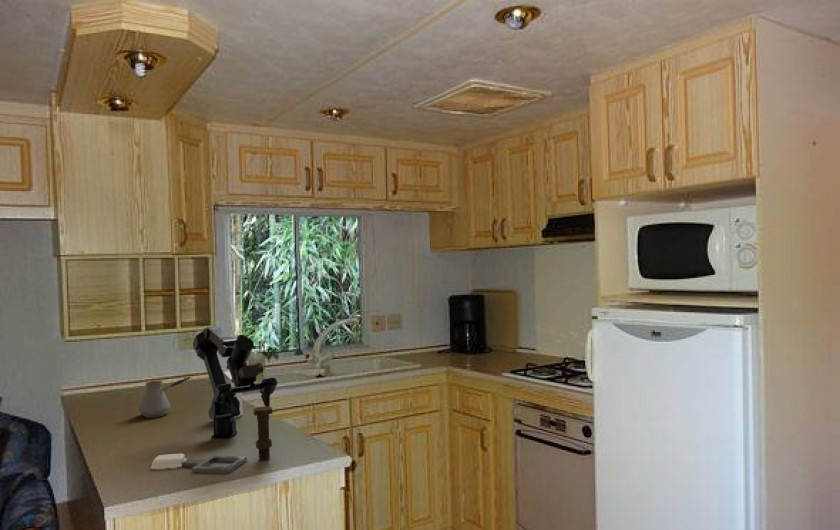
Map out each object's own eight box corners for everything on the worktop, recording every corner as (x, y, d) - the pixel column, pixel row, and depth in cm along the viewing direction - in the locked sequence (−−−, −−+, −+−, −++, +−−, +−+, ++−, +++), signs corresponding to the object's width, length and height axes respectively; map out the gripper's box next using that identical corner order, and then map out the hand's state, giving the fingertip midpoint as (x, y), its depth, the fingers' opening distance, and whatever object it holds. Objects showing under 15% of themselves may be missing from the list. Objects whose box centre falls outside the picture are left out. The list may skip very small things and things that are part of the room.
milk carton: (242, 415, 234) (241, 365, 234) (232, 419, 227) (230, 369, 227) (226, 414, 236) (225, 365, 236) (215, 419, 229) (214, 368, 229)
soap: (188, 461, 181) (187, 451, 181) (182, 468, 174) (182, 458, 174) (156, 463, 179) (155, 453, 179) (149, 471, 173) (149, 461, 173)
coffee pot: (132, 419, 233) (131, 379, 233) (149, 411, 245) (148, 374, 245) (185, 419, 231) (184, 379, 231) (199, 411, 242) (198, 373, 242)
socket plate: (174, 471, 170) (173, 467, 170) (195, 459, 181) (195, 455, 181) (228, 473, 167) (228, 469, 167) (246, 460, 178) (246, 456, 178)
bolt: (267, 455, 183) (265, 405, 183) (277, 458, 180) (276, 407, 180) (250, 460, 179) (249, 409, 179) (261, 463, 176) (259, 411, 175)
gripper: (215, 358, 183) (230, 400, 174) (274, 351, 195) (290, 391, 186) (208, 381, 190) (221, 423, 181) (265, 373, 201) (280, 412, 192)
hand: (254, 411), depth 185 cm, fingers open, 9 cm apart
